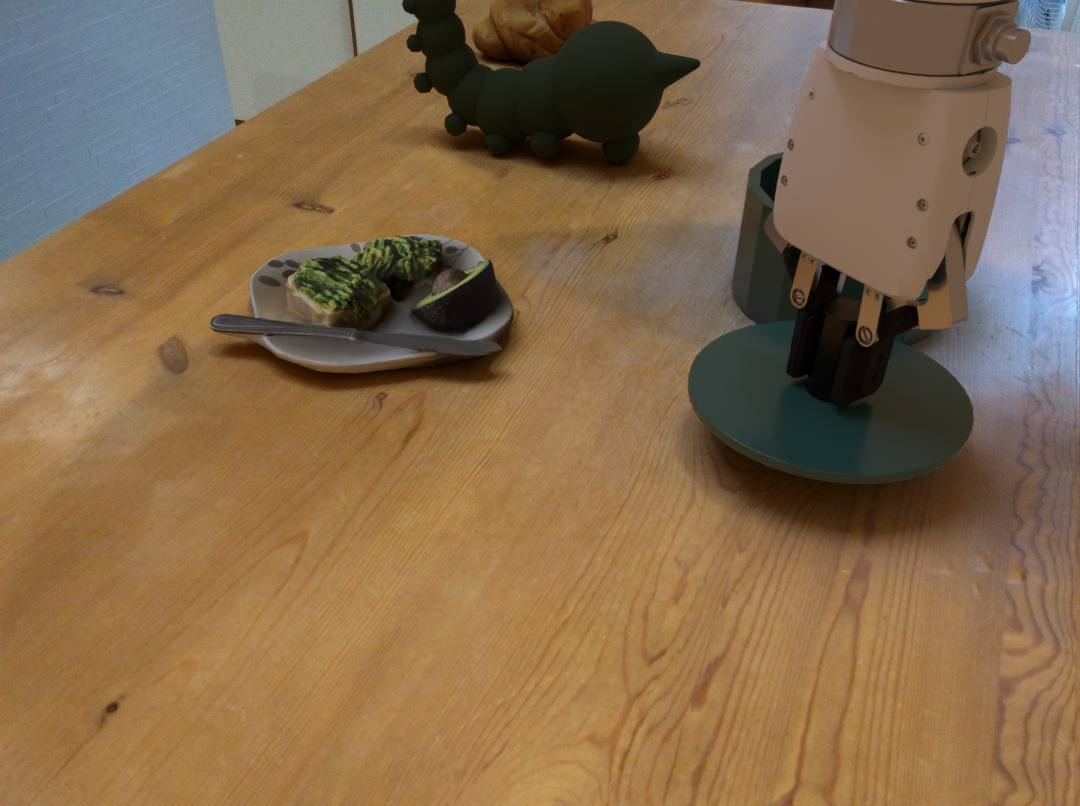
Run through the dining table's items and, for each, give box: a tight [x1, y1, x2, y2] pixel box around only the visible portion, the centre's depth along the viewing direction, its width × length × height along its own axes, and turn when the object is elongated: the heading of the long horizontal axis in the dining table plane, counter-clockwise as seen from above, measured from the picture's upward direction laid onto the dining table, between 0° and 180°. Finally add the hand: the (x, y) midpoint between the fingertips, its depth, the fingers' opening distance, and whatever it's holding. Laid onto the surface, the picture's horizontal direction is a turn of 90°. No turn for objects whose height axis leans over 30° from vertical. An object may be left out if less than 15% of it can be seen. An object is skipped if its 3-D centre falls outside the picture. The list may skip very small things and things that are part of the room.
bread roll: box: [471, 0, 594, 63], centre depth 112 cm, size 13×10×8 cm
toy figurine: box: [401, 0, 701, 165], centre depth 88 cm, size 9×19×25 cm
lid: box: [687, 298, 975, 485], centre depth 58 cm, size 16×16×6 cm
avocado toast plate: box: [209, 233, 515, 374], centre depth 69 cm, size 19×18×5 cm
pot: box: [731, 151, 935, 346], centre depth 72 cm, size 15×15×8 cm
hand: (831, 381), depth 59 cm, fingers closed on lid, 2 cm apart
